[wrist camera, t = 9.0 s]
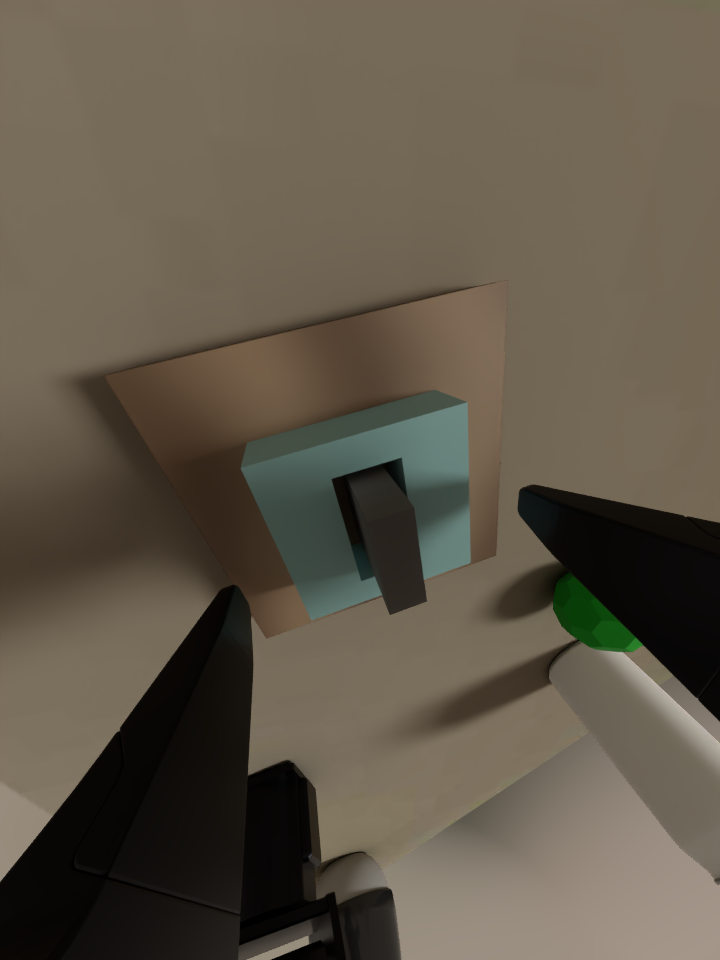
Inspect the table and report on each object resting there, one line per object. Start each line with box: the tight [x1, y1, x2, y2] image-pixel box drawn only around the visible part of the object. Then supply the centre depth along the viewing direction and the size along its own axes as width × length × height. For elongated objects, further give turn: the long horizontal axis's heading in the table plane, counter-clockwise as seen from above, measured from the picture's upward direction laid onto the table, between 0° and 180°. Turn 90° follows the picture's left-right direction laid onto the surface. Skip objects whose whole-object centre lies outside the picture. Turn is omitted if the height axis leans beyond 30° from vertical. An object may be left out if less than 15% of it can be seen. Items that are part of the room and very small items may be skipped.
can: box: [549, 641, 720, 885], centre depth 22 cm, size 6×6×12 cm
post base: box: [104, 280, 508, 639], centre depth 10 cm, size 12×12×6 cm
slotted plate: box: [241, 390, 471, 621], centre depth 11 cm, size 7×7×2 cm
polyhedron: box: [553, 572, 643, 652], centre depth 19 cm, size 5×5×5 cm
